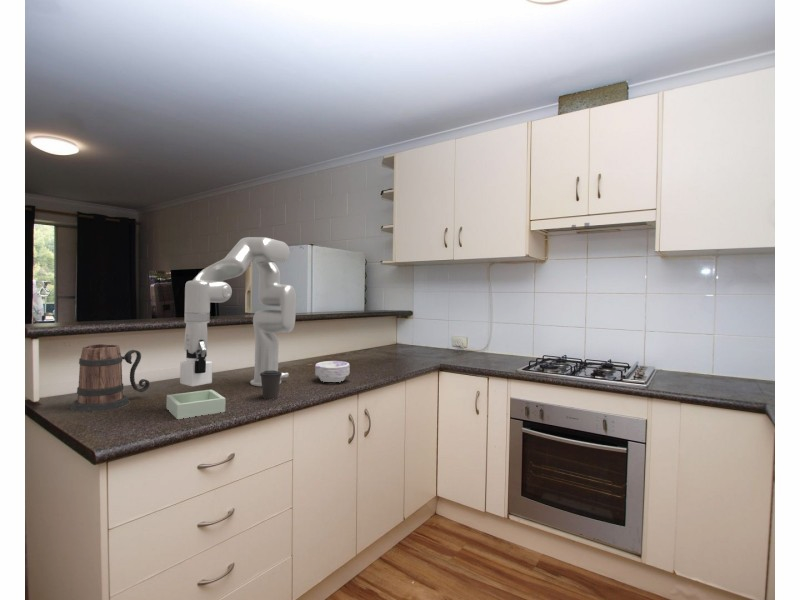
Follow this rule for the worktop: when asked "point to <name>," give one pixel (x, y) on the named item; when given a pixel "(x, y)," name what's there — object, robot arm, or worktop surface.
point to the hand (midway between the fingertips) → (196, 370)
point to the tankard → (104, 378)
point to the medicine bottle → (189, 373)
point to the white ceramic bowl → (332, 371)
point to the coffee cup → (270, 384)
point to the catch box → (195, 404)
